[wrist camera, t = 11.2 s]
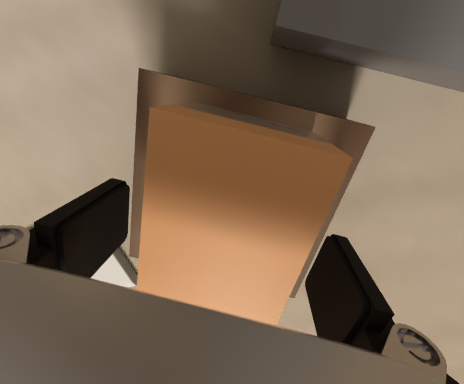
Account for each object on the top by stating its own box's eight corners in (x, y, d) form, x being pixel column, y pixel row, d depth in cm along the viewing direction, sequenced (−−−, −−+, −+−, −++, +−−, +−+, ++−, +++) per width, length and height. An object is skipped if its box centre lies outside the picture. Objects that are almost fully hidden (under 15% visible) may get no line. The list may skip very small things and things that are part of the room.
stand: (346, 119, 15) (375, 127, 11) (287, 260, 20) (294, 298, 16) (168, 74, 15) (138, 68, 11) (153, 226, 20) (129, 256, 16)
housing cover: (258, 323, 12) (258, 363, 11) (152, 295, 12) (133, 330, 11) (332, 144, 8) (353, 158, 6) (173, 104, 8) (149, 107, 7)
